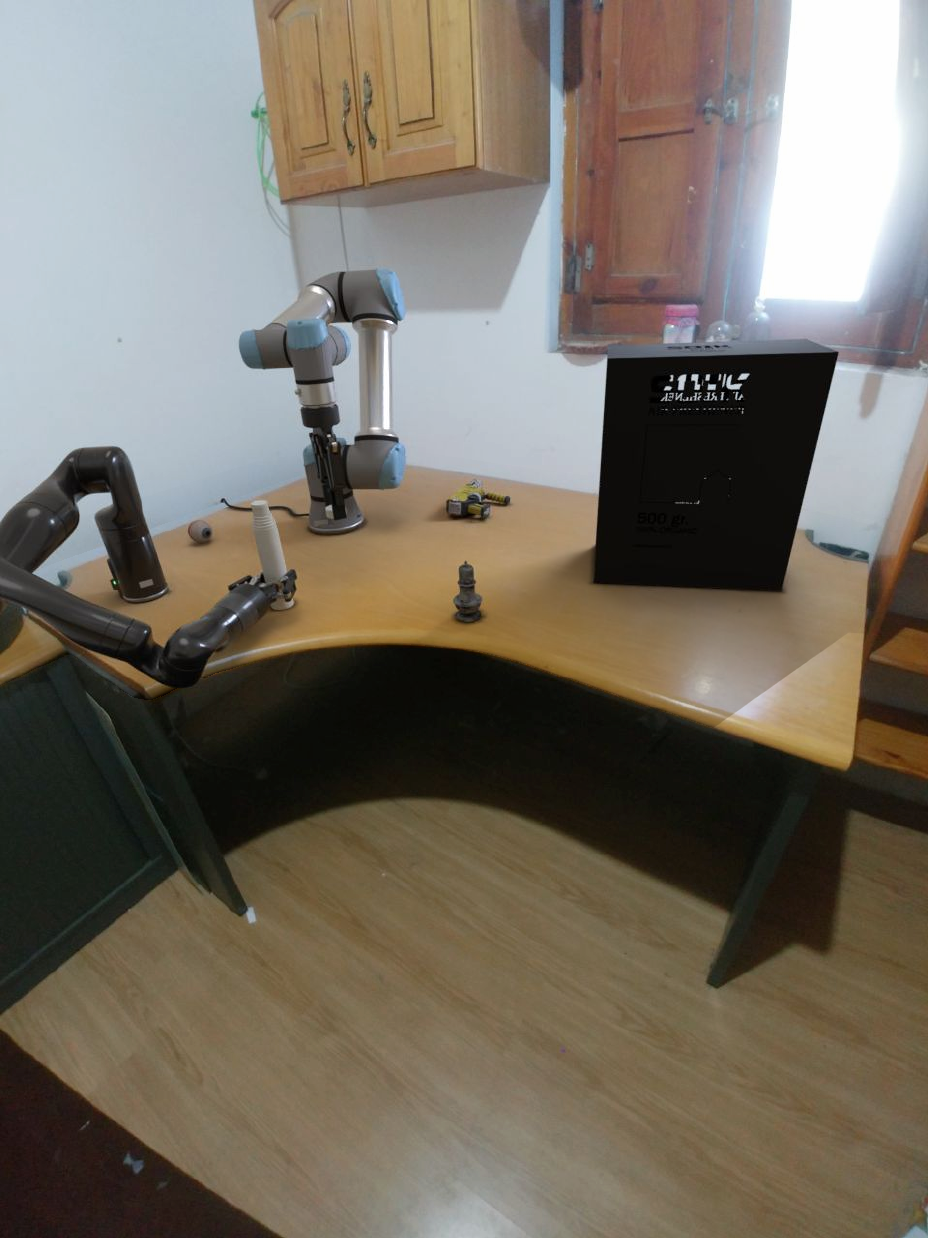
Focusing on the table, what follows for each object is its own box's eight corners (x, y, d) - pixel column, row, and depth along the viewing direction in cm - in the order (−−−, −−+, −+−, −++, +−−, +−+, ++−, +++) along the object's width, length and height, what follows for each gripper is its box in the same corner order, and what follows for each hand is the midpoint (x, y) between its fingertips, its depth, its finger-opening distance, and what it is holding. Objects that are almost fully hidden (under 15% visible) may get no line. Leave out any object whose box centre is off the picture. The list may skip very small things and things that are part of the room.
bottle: (290, 597, 132) (268, 497, 121) (296, 606, 129) (274, 503, 117) (269, 603, 130) (244, 501, 119) (274, 612, 127) (249, 508, 115)
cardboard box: (760, 550, 140) (805, 338, 118) (781, 591, 123) (838, 351, 101) (595, 545, 148) (608, 345, 125) (593, 582, 131) (607, 358, 108)
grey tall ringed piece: (480, 623, 118) (477, 567, 112) (451, 621, 119) (447, 566, 113) (485, 608, 123) (483, 554, 117) (457, 607, 124) (453, 553, 118)
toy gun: (518, 484, 183) (472, 477, 187) (496, 507, 163) (444, 499, 167) (517, 499, 185) (471, 492, 189) (494, 524, 165) (443, 515, 169)
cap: (327, 512, 134) (326, 504, 133) (347, 511, 134) (346, 503, 133) (325, 519, 130) (323, 511, 129) (345, 517, 130) (344, 509, 130)
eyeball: (201, 547, 160) (195, 526, 157) (186, 543, 163) (180, 522, 160) (220, 539, 164) (214, 518, 161) (205, 536, 167) (199, 515, 164)
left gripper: (211, 625, 118) (257, 585, 132) (276, 631, 115) (316, 590, 129) (200, 591, 114) (249, 554, 128) (268, 596, 111) (310, 558, 125)
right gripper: (288, 401, 126) (308, 508, 137) (313, 413, 113) (333, 531, 124) (323, 396, 129) (339, 502, 141) (351, 407, 116) (367, 523, 127)
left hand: (282, 572), depth 128 cm, fingers closed on bottle, 4 cm apart
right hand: (336, 515), depth 132 cm, fingers closed on cap, 4 cm apart
